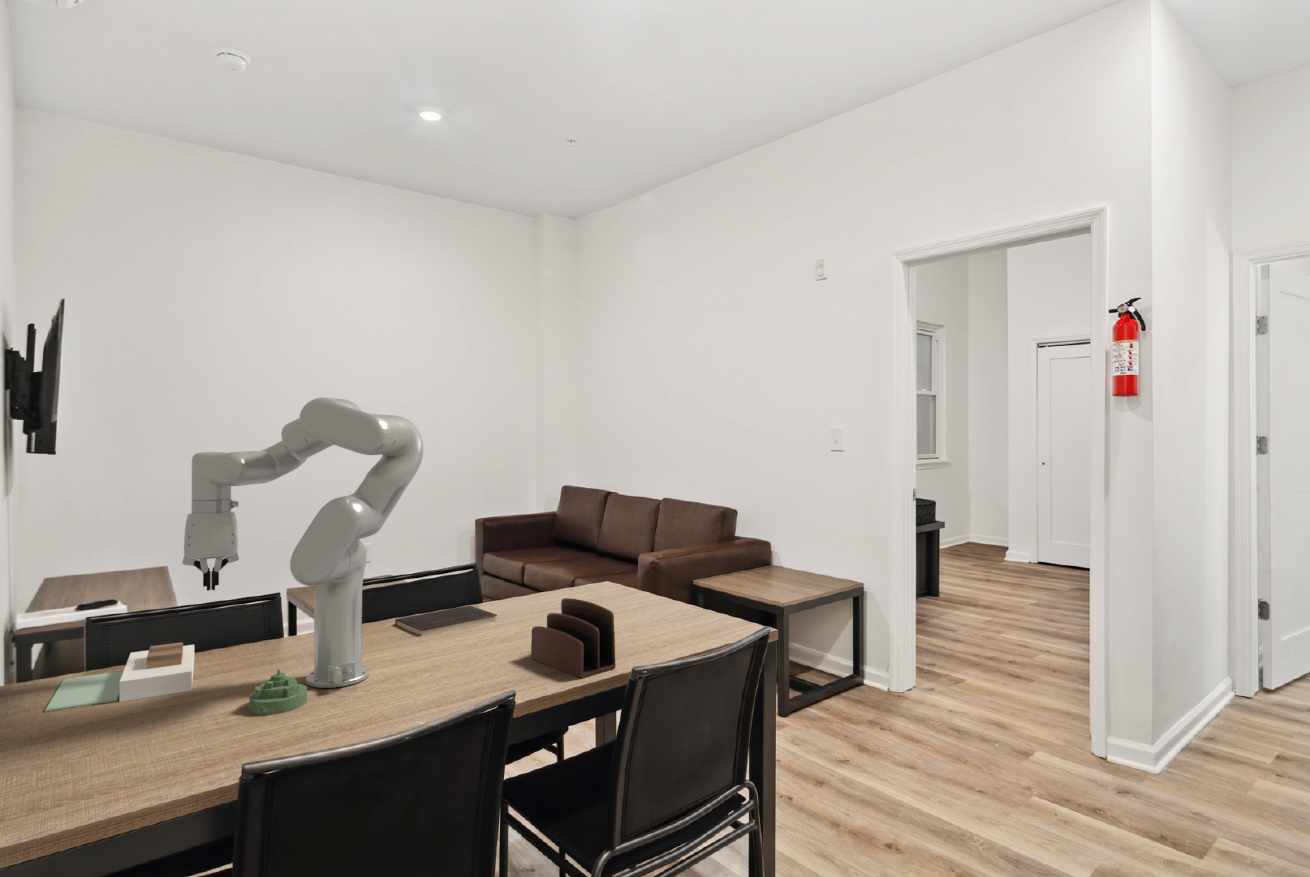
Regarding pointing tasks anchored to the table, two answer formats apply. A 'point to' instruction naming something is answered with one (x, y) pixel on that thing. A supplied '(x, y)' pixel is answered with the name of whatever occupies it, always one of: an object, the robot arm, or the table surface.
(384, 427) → the robot arm
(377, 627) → the table surface
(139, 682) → the block
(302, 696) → the decorative artifact
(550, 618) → the letter holder
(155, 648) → the walnut tile
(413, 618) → the hardcover book
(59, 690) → the mat
